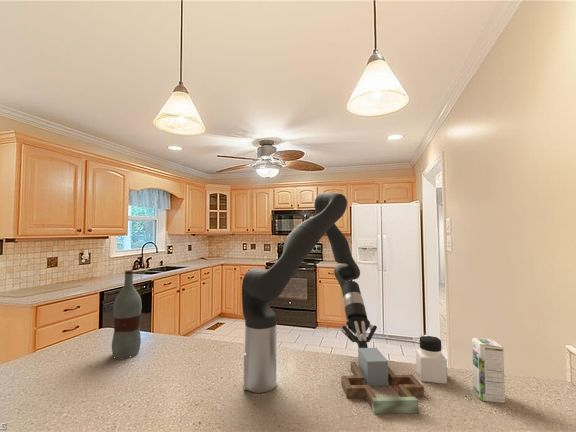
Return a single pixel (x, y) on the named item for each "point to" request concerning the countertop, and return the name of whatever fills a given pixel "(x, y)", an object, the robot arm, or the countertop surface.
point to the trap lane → (405, 403)
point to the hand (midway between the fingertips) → (364, 353)
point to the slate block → (373, 366)
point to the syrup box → (488, 370)
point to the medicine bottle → (431, 360)
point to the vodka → (127, 320)
